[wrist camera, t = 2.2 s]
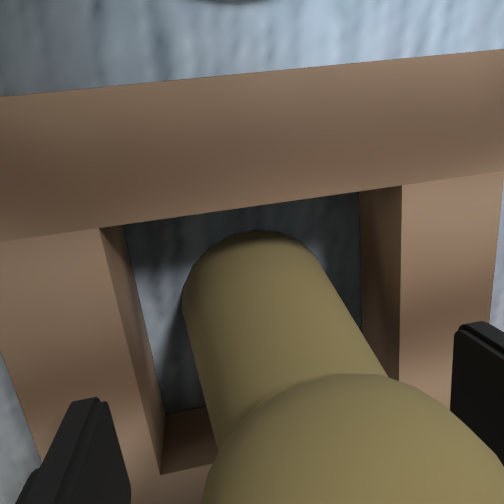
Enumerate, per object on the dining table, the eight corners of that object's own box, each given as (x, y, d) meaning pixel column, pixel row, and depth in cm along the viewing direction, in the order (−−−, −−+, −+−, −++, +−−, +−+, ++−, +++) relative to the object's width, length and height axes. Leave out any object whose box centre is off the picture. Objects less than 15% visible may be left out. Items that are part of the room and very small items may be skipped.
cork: (243, 391, 16) (346, 865, 5) (148, 296, 14) (23, 753, 3) (353, 307, 16) (685, 639, 5) (271, 198, 14) (540, 374, 3)
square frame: (-21, 115, 11) (-92, 105, 8) (446, 68, 13) (516, 47, 10) (101, 494, 16) (82, 568, 13) (429, 419, 18) (474, 470, 15)
